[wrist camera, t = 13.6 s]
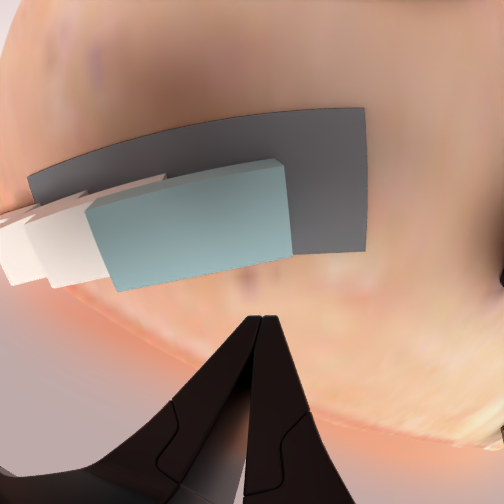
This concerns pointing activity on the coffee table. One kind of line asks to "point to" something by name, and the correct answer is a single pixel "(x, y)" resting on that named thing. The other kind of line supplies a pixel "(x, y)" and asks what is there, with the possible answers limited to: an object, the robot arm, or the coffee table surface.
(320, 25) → the coffee table surface
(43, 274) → the ivory domino
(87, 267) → the ivory domino
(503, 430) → the book
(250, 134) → the mat
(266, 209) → the teal domino
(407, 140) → the coffee table surface
